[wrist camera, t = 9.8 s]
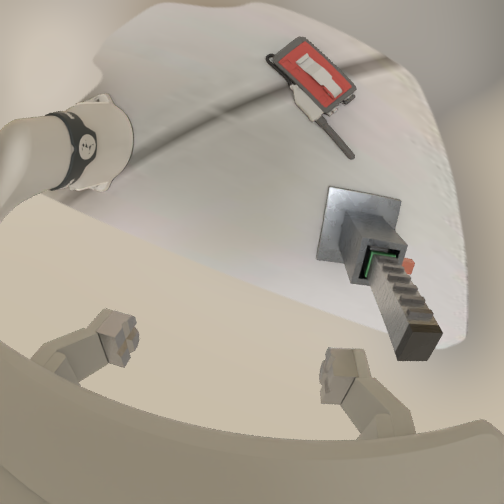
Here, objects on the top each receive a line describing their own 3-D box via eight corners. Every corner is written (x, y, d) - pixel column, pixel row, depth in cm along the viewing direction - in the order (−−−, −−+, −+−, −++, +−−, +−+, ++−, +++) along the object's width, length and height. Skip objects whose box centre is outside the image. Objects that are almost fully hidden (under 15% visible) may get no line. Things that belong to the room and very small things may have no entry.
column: (355, 255, 36) (396, 361, 18) (361, 231, 35) (413, 327, 17) (376, 258, 36) (427, 361, 18) (382, 235, 34) (446, 329, 16)
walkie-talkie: (255, 68, 35) (346, 162, 39) (251, 61, 31) (352, 165, 35) (297, 35, 31) (386, 128, 35) (297, 24, 27) (396, 128, 31)
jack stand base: (316, 257, 45) (321, 300, 33) (328, 186, 40) (342, 207, 28) (382, 266, 44) (405, 309, 32) (399, 199, 39) (434, 225, 27)
